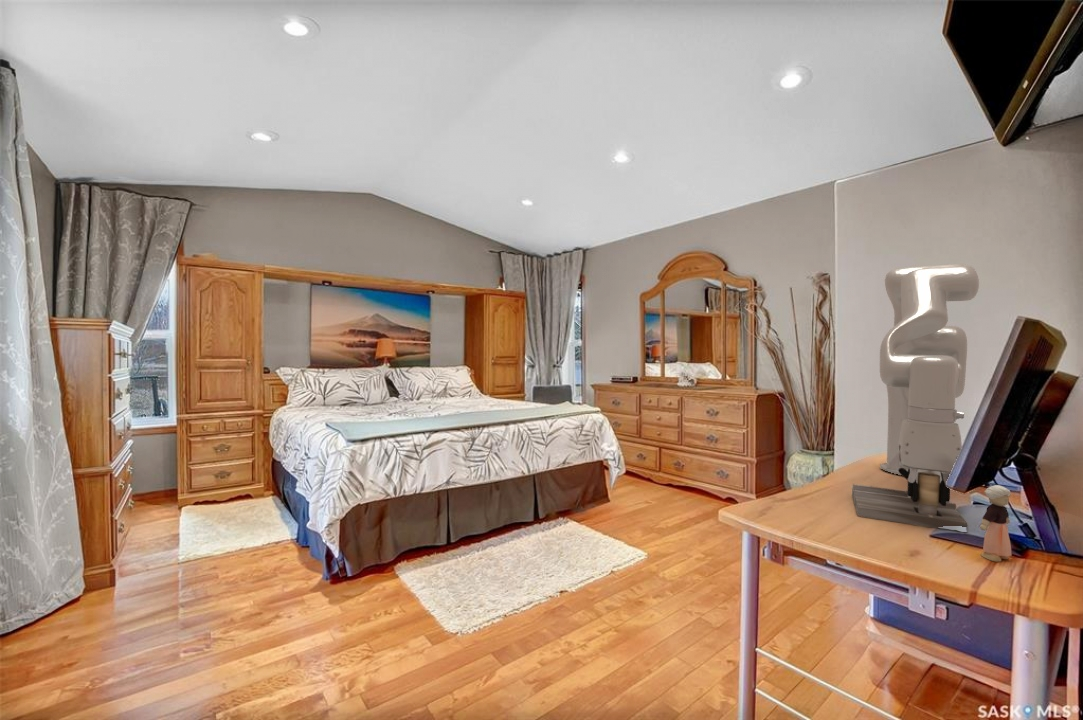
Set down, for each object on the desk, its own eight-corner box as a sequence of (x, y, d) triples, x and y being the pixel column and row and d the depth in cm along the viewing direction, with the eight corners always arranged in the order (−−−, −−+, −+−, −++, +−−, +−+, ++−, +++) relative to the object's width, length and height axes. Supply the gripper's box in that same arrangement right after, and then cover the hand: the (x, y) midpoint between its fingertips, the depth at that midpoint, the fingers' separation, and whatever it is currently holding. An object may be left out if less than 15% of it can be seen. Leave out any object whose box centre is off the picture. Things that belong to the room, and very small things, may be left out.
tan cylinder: (914, 517, 102) (916, 471, 102) (936, 520, 100) (937, 473, 100) (918, 522, 99) (919, 475, 99) (940, 525, 97) (941, 477, 97)
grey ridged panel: (851, 495, 116) (852, 482, 116) (946, 508, 107) (946, 494, 107) (857, 516, 102) (858, 501, 102) (966, 532, 94) (967, 517, 93)
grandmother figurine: (1004, 566, 79) (1007, 492, 79) (974, 557, 83) (977, 486, 82) (1017, 555, 84) (1020, 484, 83) (988, 547, 87) (991, 479, 86)
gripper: (978, 416, 98) (974, 503, 99) (879, 410, 106) (877, 490, 107) (990, 421, 91) (986, 515, 92) (884, 415, 100) (881, 500, 100)
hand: (927, 501), depth 100 cm, fingers open, 4 cm apart
